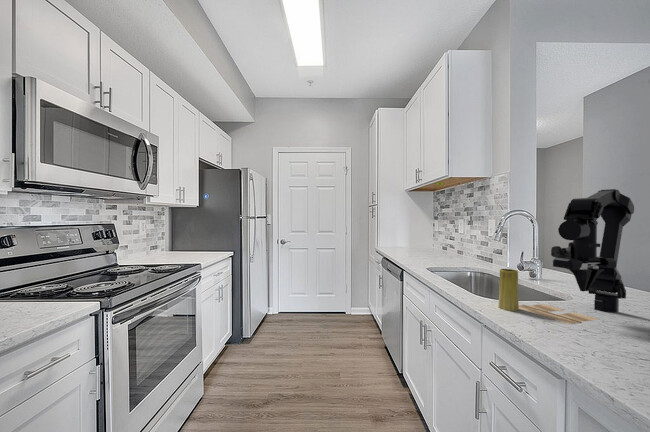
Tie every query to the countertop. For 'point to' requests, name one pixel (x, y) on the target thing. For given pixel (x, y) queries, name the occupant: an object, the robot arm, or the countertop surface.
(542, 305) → the plank
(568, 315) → the plank
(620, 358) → the countertop surface
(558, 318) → the laid board
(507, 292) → the vase
